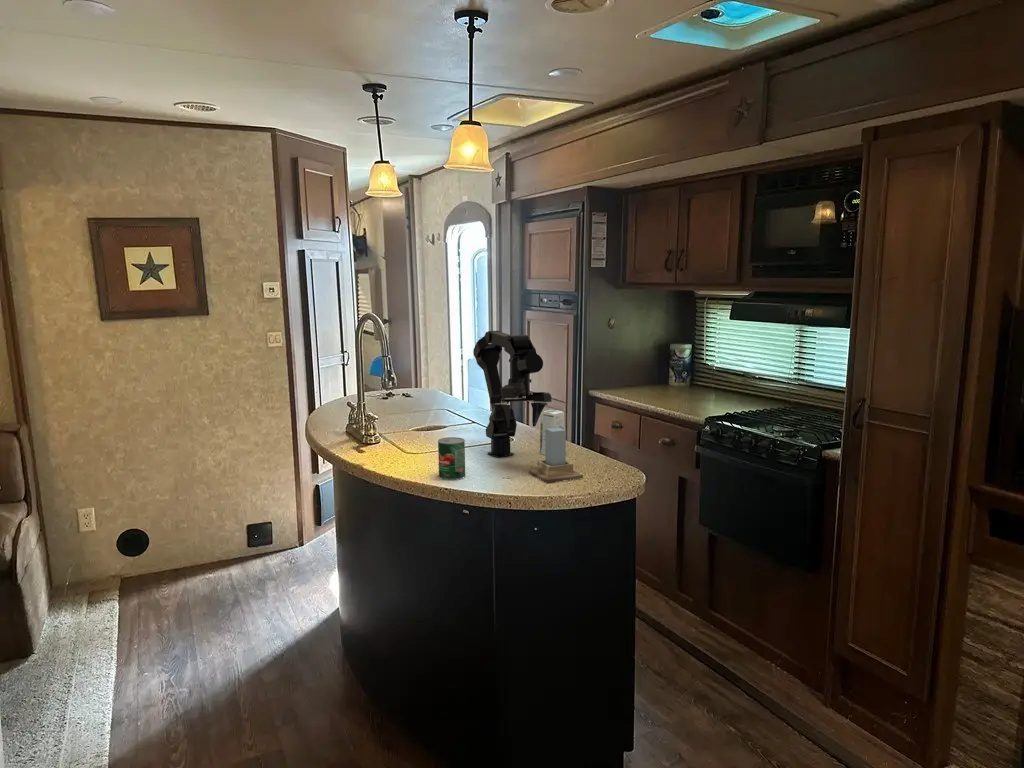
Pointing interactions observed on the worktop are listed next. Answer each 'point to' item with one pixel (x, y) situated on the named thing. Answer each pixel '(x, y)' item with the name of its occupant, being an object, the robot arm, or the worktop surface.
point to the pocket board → (555, 472)
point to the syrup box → (549, 424)
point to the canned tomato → (451, 458)
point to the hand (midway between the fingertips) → (520, 426)
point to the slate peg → (555, 447)
